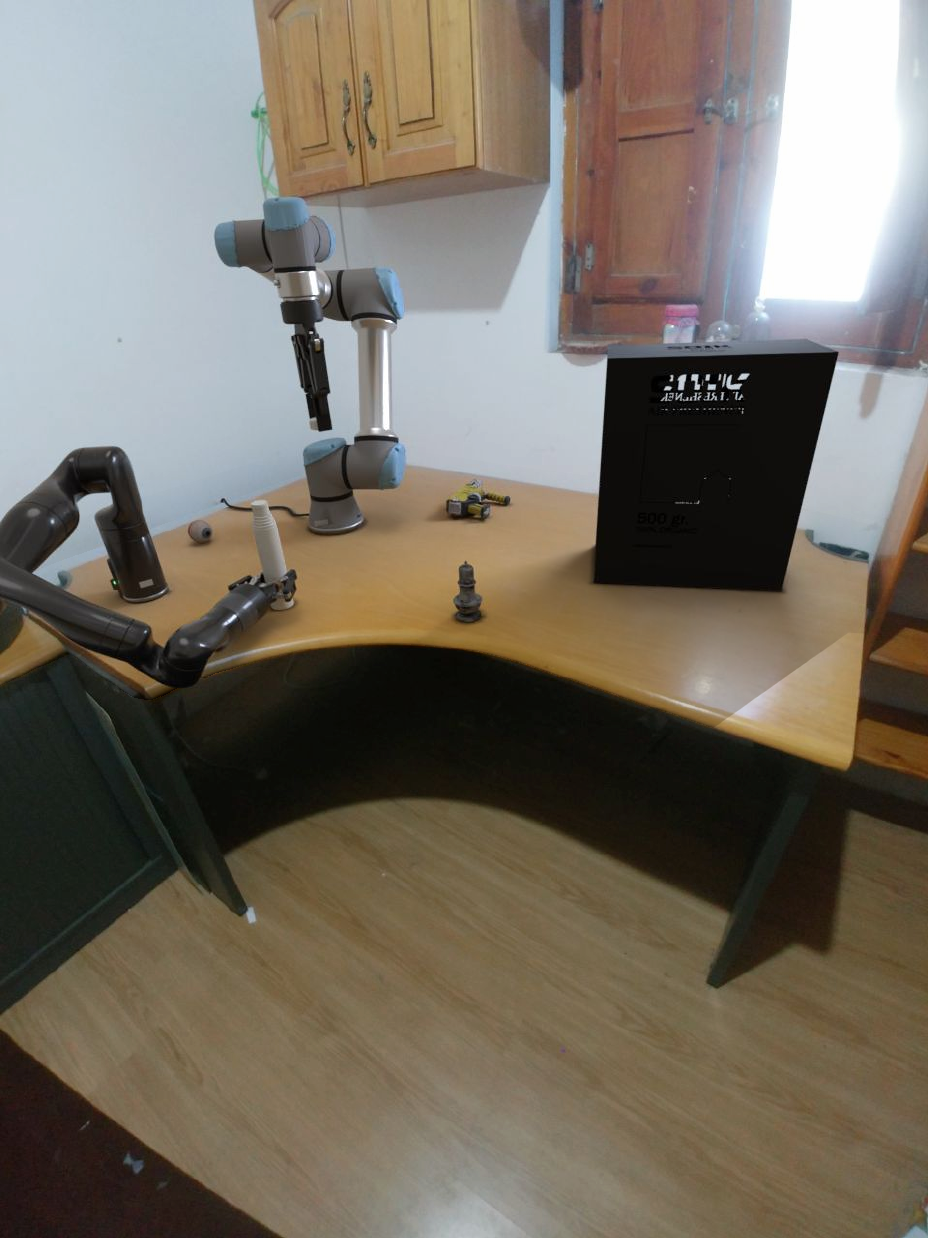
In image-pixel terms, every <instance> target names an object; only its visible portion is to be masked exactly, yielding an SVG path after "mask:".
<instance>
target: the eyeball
mask: <svg viewBox="0 0 928 1238" xmlns="http://www.w3.org/2000/svg"><path fill="white" fill-rule="evenodd" d="M187 534H188V537H189V538H190V539H191V540H192V541H193V542H196V543H198V544H199V543H201V544H202V543H207V542H208V541H209V540H211V538H212V536H213V527H212V526H211V524H210V523H209V522H207V521H205V520H201V519H197V520H193V521H192V522H191V523H190V524H189V525H188V527H187Z"/></svg>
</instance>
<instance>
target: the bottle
mask: <svg viewBox="0 0 928 1238" xmlns="http://www.w3.org/2000/svg"><path fill="white" fill-rule="evenodd" d="M269 507H270V506H269V502H268V500H266V499H258V500H254V501H252V502H251V503H250V508H252V510H251V511H252V519H251V520H252V522H251V523H252V524H251V527H252V532H253V533H252V534H253V538H254V541H255V544H256V549H257V553H258V557H259V562H260V566H261V571H262V572H263V574H264V578H265V583H267V582H269V581H271V580H273V579H280V578H282V577H283V576H284V575H285V574H286V573H287V572H288V570H287V566H286V561H285V555H284V552H283V547H282V543H281V537H280V533H279V529H278V524H277V521H276V520H275V518H274V516H273V514H272V512H271V511H270V509H269ZM274 586H275V585H274ZM281 586H282V587H283V586H284V585H283V583H281ZM294 604H295V601H294V597H293V598H292V600H291V601H290V602H285V599H277V601H275V602H273V603H271V604H270V608H271V609H273V610H274V611H284V610H288V609H289V608H291V607H292V606H293V607H294Z"/></svg>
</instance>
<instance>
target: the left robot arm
mask: <svg viewBox="0 0 928 1238" xmlns="http://www.w3.org/2000/svg"><path fill="white" fill-rule="evenodd" d="M94 494H110V497H111V502H112V504H110V505H107V506H105V507H102V508H100V509H99V510H98V511H96V512H95V513H94V516H93V517H94V518H93V519H94V522H95V525H96V527H97V529H98V532H99V534H100V537H101V539H102V542H103V545H104V548H105V551H106V553H107V555H108V558H107V559H106V563H107V565H108V569H109V571H110V573H111V576H112V578H111V579H110V580H109V582H110V585H111V588H112V590H113V591H117V592H118V595H119V598H120V599H123V600H124V601H125V602H127V603H131V604H138V603H140V604H141V603H145V602H146V603H147V602H150V601H153V600H156V599H159V598H160V597H162V596H164V595H165V594H167V593H168V592H169V589H170V588H169V584H168V582H167V580H166V577H165V575H164V570H163V568H162V565H161V562H160V559H159V556H158V553H157V550H156V547H155V543H154V541H153V538H152V535H151V531H150V529H149V526H148V523H147V521H146V518H145V514H144V509H143V508H144V507H143V500H142V497H141V494H140V490H139V486H138V483H137V479H136V475H135V470H134V468H133V464H132V462H131V459H130V458H129V456H128V454H127V453H126V451H124V449H123V448H121V447H120V446H116V445H102V446H85V447H79V448H75V449H73V450H71V451H69V453H67V455H66V456H65V457H64V458H63V459H62V461H61V462H60V463H59V464H58V465H57V466H56V468H55V469H54V470H53V472H52V473H51V474H49V476H48V477H47V478H45V479H44V480H43V481H42V482H41V483H40V484H39V485H37V486H36V487H35V488H34V489H33V490H32V491H30V492H29V493H28V494H26V495H25V496H23V497H22V498H21V499H20V500H19V501H18V502H16V503H15V504H14V505H13V506H12V507H11V508H9V510H7V512H5V514H4V516H3V517H2V518H1V520H0V616H1V615H2V614H3V612H4V611H5V609H6V608H7V607H8V605H9V604H10V603H12V604H14V605H17V606H19V607H22V608H23V609H25V610H27V611H29V612H30V613H32V614H33V615H36V616H37V617H39V618H40V619H41V620H43V621H44V622H46V623H47V624H49V625H50V626H51V627H52V628H54V629H55V630H56V631H58V633H60V634H61V635H62V636H63V637H65V638H66V639H68V640H69V641H70V642H72V643H74V644H76V645H77V646H79V647H81V648H83V649H85V650H88V651H91V652H94V653H96V654H100V655H102V656H104V657H108V658H111V659H114V660H117V661H121V662H124V663H126V664H128V665H129V666H130V667H132V668H134V669H135V670H137V671H138V672H140V673H142V674H144V675H145V676H147V677H149V678H150V679H152V680H154V681H155V682H156V683H159V684H161V685H163V686H166V687H169V688H173V689H186V688H191V687H193V686H195V685H197V683H198V682H199V681H200V679H201V678H202V675H203V673H204V671H205V670H206V667H207V665H208V662H209V660H210V658H211V657H212V655H213V654H218V653H221V652H223V651H225V650H227V649H228V648H229V647H230V646H231V645H232V644H234V643H235V642H236V641H237V640H238V639H239V638H240V637H241V636H242V635H244V634H246V633H247V632H248V631H249V630H250V629H251V628H252V627H254V626H255V625H256V624H257V623H258V622H259V621H260V620H261V619H262V618H263V617H264V616H265V615H266V614H267V613H268V611H269V608H270V607H271V603H273V602H275V601H277V599H285V602H290V601H291V600H292V598H293V599H294V596H295V594H296V592H297V585H296V580H297V579H298V575H297V571H296V570H295V569H294V568H293V569H292V568H291V569H289V570H287V573H286V574H285V575H284V576H283V577H282V578H280V579H273V580H271V581H269V582H267V583H265V578H264V574H263V571H261V572H260V573H257V574H255V575H254V576H252V575H251V574H247V575H245V576H243V577H242V578H240V579H238V580H236V581H234V582H232V583H231V584H229V585H227V589H228V593H227V594H226V595H225V596H223V597H222V598H221V599H219V600H218V601H217V602H216V603H215V605H214V606H213V607H212V608H211V609H210V610H208V611H207V612H206V613H205V614H204V615H203V616H201V617H200V618H199V619H196V620H193V621H191V622H189V623H187V624H185V625H182V626H180V627H179V628H177V629H175V631H174V632H173V633H172V634H171V635H170V636H169V637H168V639H167V640H166V642H165V645H164V646H162V645H161V644H159V643H158V642H156V641H155V640H154V637H153V635H154V634H153V628H152V627H151V625H150V624H149V623H147V622H144V621H141V620H139V619H135V618H133V617H130V616H128V615H125V614H123V613H119V612H116V611H115V610H111V609H108V608H106V607H102V606H100V605H97V604H95V603H92V602H90V601H88V600H86V599H83V598H82V597H79V596H77V595H76V594H73V593H72V592H69V591H67V590H65V589H64V588H61V587H59V586H58V585H56V584H54V583H52V582H50V581H48V580H46V579H44V578H43V577H40V576H39V575H37V574H35V573H34V572H36V570H37V569H39V568H40V567H41V566H42V565H43V564H44V563H45V561H47V559H48V558H50V557H51V555H52V554H53V553H55V551H57V550H58V549H59V548H60V547H61V546H62V545H63V544H64V543H65V542H66V541H67V540H68V539H69V538H70V537H71V536H72V535H73V534H74V533H75V531H76V529H77V528H78V526H79V524H80V519H81V518H80V517H81V514H80V509H79V506H78V502H80V501H81V500H82V499H83V498H85V497H86V496H89V495H94ZM281 583H283V585H284V586H283V587H282V586H281ZM274 585H275V586H274Z"/></svg>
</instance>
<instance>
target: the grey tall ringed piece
mask: <svg viewBox="0 0 928 1238" xmlns="http://www.w3.org/2000/svg"><path fill="white" fill-rule="evenodd" d="M463 563H464V564H461V565H460V566H459V567H458V581H457V585H458V588H459V589H458V590H459V593H458V594H457V595H455V596H454V597H453V599H452V602H453V604H454V606H455V608H456V610H457V611H456V612H455V615H454V616H455V618H456V619H457V620H458V621H461V622H466V623H467V622H475V621H478V620H479V619H481V618H482V615H483V614H482V611H481V610H480V607H481V605H482V602H483V600H484V599H483V598H484V597H482V595H481V594H479V593H477V592H476V583H477V580H476V579H475V572H474V570H475V569H474V567H473V566H472V564H469V563H468V561H467V560H464V561H463Z"/></svg>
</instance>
